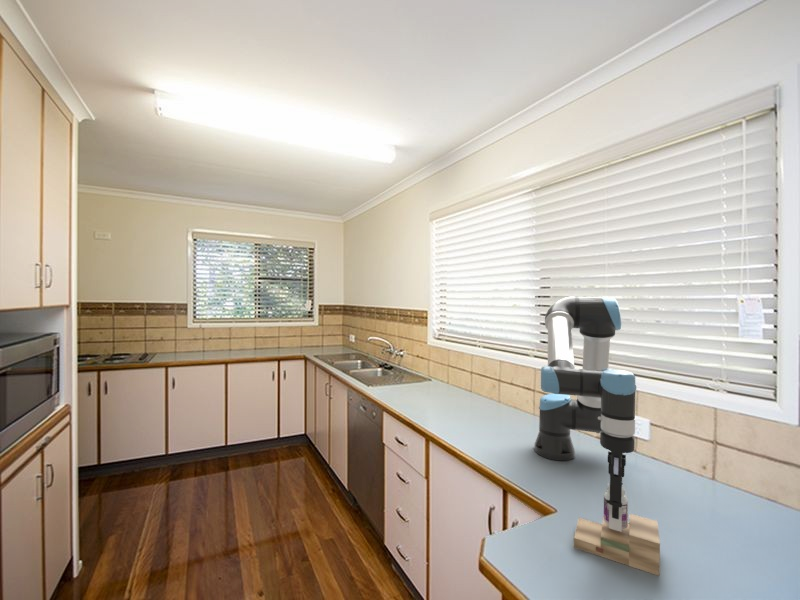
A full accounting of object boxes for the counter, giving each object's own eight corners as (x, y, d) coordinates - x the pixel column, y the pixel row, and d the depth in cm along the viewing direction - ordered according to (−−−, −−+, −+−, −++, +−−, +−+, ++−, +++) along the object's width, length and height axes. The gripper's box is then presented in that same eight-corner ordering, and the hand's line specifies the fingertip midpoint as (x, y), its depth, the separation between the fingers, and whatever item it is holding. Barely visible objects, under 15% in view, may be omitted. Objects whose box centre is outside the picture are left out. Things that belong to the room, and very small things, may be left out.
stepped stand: (578, 526, 104) (578, 499, 104) (656, 550, 95) (657, 521, 94) (573, 548, 95) (574, 519, 95) (659, 576, 86) (660, 544, 86)
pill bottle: (605, 514, 99) (606, 478, 98) (629, 522, 95) (629, 485, 95) (601, 524, 95) (602, 487, 94) (625, 533, 91) (626, 494, 91)
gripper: (602, 418, 104) (601, 500, 105) (597, 441, 88) (596, 537, 89) (634, 424, 100) (632, 509, 101) (635, 448, 84) (633, 549, 85)
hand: (615, 522), depth 95 cm, fingers closed on pill bottle, 5 cm apart
